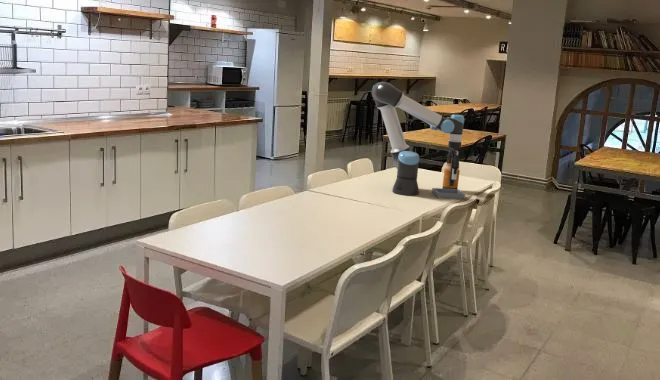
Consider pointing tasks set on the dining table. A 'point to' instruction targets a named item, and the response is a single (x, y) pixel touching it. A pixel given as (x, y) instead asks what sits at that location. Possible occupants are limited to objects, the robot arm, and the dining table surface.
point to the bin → (448, 193)
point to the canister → (450, 177)
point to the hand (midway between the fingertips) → (451, 177)
